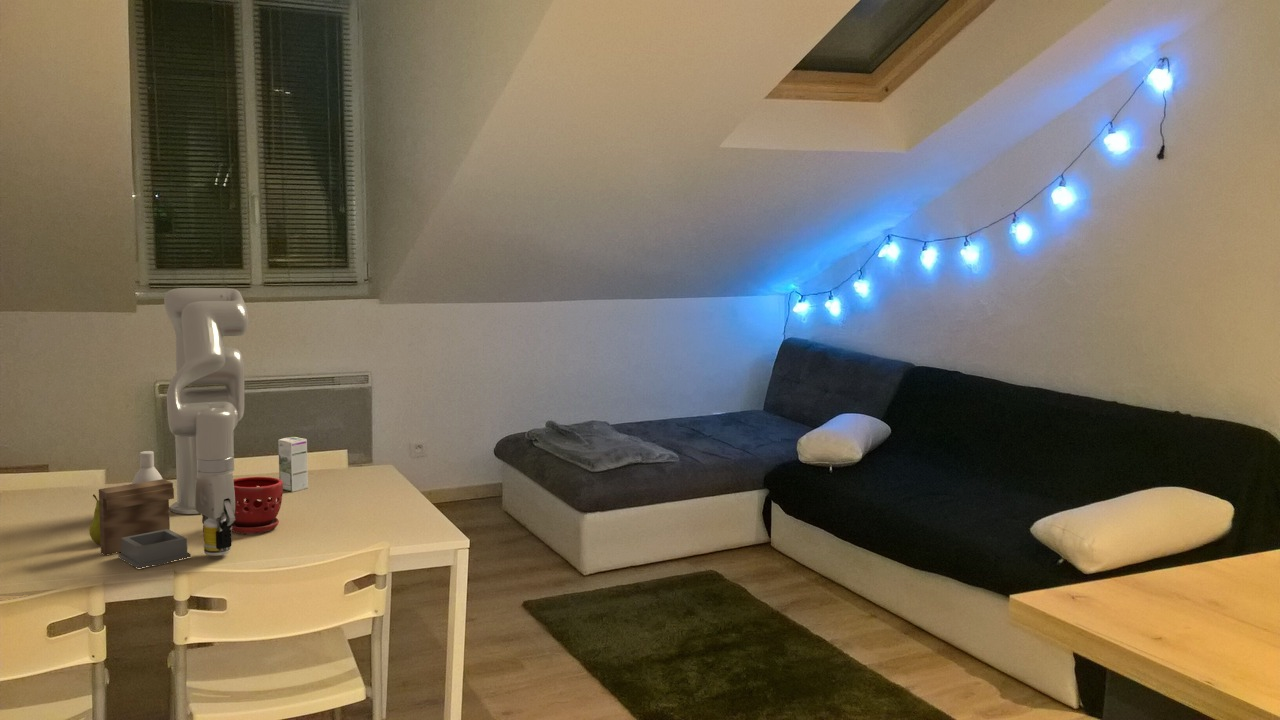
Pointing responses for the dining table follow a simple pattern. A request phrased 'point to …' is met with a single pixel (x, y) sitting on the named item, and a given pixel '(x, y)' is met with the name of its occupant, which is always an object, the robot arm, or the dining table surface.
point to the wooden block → (133, 511)
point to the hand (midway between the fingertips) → (217, 543)
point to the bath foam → (146, 469)
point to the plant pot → (256, 504)
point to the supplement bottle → (212, 538)
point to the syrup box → (293, 463)
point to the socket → (153, 548)
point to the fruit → (95, 524)
